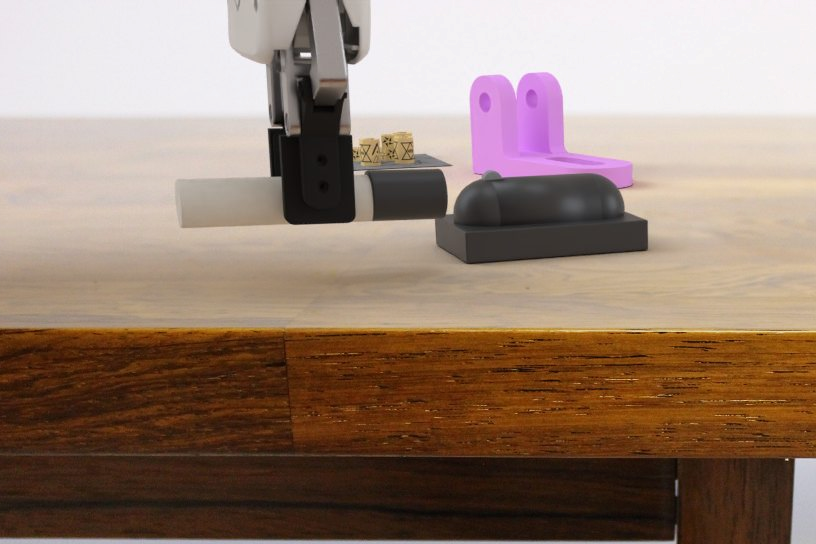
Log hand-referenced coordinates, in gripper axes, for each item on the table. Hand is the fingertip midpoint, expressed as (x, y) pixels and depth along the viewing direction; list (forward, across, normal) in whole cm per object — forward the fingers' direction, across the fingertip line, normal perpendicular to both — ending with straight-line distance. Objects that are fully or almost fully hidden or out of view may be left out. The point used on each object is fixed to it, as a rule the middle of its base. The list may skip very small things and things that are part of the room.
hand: (313, 214), depth 70 cm
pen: (0, 0, 0) cm, 0 cm away
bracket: (+3, -30, +23) cm, 38 cm away
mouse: (+3, -4, +13) cm, 14 cm away
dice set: (+3, -44, +14) cm, 46 cm away
